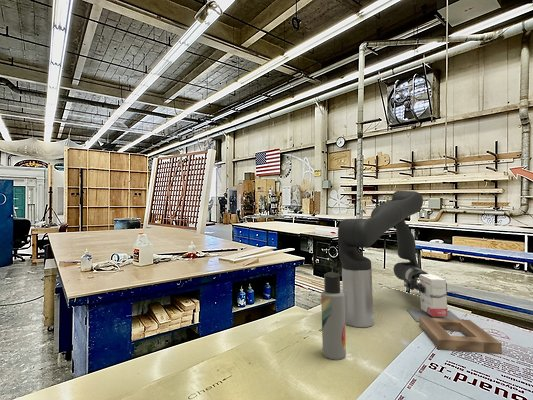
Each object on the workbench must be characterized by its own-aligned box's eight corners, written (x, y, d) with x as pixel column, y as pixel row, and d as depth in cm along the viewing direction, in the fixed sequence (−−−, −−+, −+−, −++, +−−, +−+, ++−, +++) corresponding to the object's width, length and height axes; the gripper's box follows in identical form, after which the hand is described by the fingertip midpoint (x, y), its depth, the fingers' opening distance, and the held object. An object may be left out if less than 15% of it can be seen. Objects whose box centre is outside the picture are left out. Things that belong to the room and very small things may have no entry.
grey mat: (416, 322, 92) (416, 320, 92) (406, 309, 103) (406, 308, 103) (465, 324, 89) (465, 323, 89) (449, 311, 100) (449, 310, 100)
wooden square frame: (438, 349, 73) (438, 339, 73) (419, 325, 89) (418, 317, 89) (502, 353, 70) (501, 343, 70) (470, 328, 86) (469, 319, 86)
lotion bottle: (347, 350, 73) (344, 271, 74) (345, 361, 68) (342, 276, 69) (324, 347, 75) (322, 270, 76) (321, 358, 70) (318, 274, 71)
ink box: (449, 316, 92) (446, 279, 92) (433, 317, 92) (430, 279, 92) (435, 307, 100) (432, 273, 101) (420, 308, 101) (417, 273, 101)
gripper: (397, 268, 114) (409, 278, 97) (437, 269, 111) (457, 279, 94) (398, 287, 113) (410, 300, 97) (438, 289, 110) (458, 302, 94)
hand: (433, 290), depth 95 cm, fingers closed on ink box, 5 cm apart
